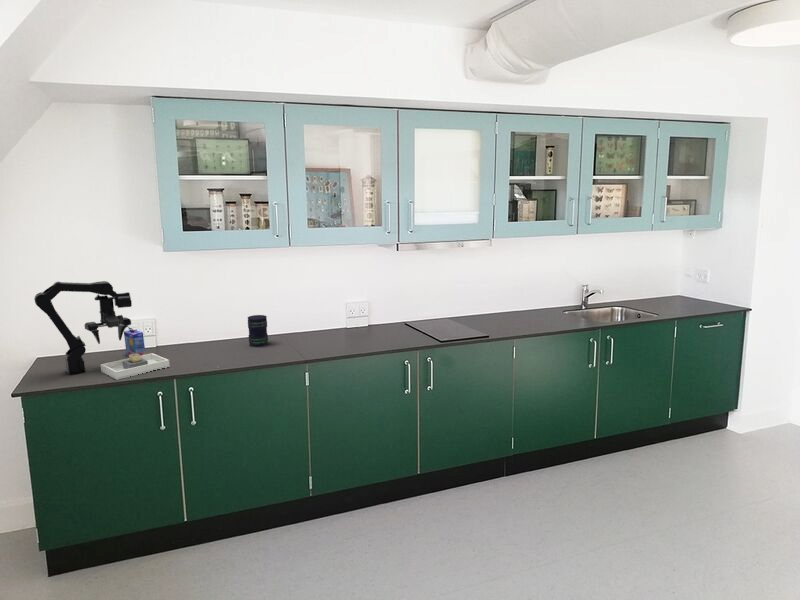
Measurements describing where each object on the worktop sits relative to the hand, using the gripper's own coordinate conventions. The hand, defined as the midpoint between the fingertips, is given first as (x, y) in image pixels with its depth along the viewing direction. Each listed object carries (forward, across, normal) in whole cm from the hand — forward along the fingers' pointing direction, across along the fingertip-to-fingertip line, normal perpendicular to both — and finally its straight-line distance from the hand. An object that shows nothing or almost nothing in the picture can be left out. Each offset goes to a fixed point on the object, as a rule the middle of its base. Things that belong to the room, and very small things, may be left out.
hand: (109, 342), depth 279 cm
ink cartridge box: (+12, +15, +10) cm, 22 cm away
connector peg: (+10, +6, -13) cm, 18 cm away
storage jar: (+10, +68, -16) cm, 71 cm away
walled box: (+12, +6, -13) cm, 18 cm away
